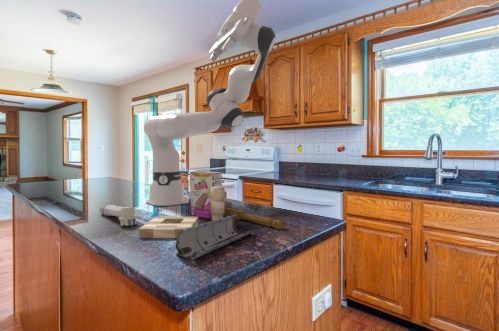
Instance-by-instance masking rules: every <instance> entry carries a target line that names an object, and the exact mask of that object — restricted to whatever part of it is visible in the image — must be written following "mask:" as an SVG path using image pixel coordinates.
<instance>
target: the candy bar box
mask: <svg viewBox="0 0 499 331" xmlns="http://www.w3.org/2000/svg"><path fill="white" fill-rule="evenodd" d="M222 179H223V178H222V172H218V171H217V172H216V171H206V170H194V171H190V172H189V185H190V187H189V188H190V190H189V191H190V197H189V200H190V217H198V219H199V218H201V219H206V220H211V221H212V214H211V187H217V186H220V187H223V184H222V183H223V182H222V181H223V180H222Z"/></svg>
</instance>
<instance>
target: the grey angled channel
mask: <svg viewBox="0 0 499 331" xmlns="http://www.w3.org/2000/svg"><path fill="white" fill-rule="evenodd" d="M238 215H239V214H235V215H231V216H227V217H226V216H224V217H223V218H222V219H217V220H214V221H212V220H211V221H208V222H203V223H199V224H198V225H196V226H194V227H188V228H185V229H182V230H181V231H180V232H179V234H178V235H177V237H176V238H175V239H176V240H175V241H176V242H175V248H176V251H177V253H176V256H177V257H182V258H183V259H186V260H191V261H193V260H196V259H198V258H200V257H202V256H204V255H207V254H209V253H211V252H213V251H215V250H217V249H219V248H222V247H225V246H226V245H230V243H232V242H235V241H238V240H240V239H243V238H244V237H247V236H249V235H251V233H252V232H253V231H254V229H250V230H249V231H246V232H245V233H240V232H239V231H238V229H237V228H236V219H235V218H236V217H237V216H238ZM194 254H195V255H194ZM193 256H194V257H193Z"/></svg>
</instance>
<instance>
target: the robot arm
mask: <svg viewBox="0 0 499 331" xmlns="http://www.w3.org/2000/svg"><path fill="white" fill-rule="evenodd" d="M261 7H262V5H261V2H260V0H239V1H238V3H237V4H236V5H235V6H234V8H233V9H232V12H231V13H230V14H229V15H228V17H227V18H226V20H225V21H224V22H223V24H222V26H221V29H220V30H219V31H218V33H217V35H216V38H215V40H214V41H213V44H212V45H211V48H210V49H209V55H210V58H209V61H211V63H214V62H215V61H216V60H217V59H218V58H219V57H221V56H222V55H223V54H224V53H226V52H228V51H229V49H230V48H231V47H233V45H238V46H241V47H243V48H246V49H249V50H253V51H254V52H256V53H257V56H256V59H255V63H254V64H253V63H252V64H239V65H235V66H234V67H233V68H231V70H230V71H229V73H228V76H227V77H228V79H227V88H225V87H220V88H216V89H213V90H211V91H210V92H209V93H208V95H207V97H206V104H207V106H208V107H209V108H210V109H211V110H210V111H195V112H181V113H168V114H161V115H153V116H152V117H150V118H148V119H146V121H145V122H144V124H143V132H144V134H145V135H146V136H147V138H148V140H149V143H150V146H151V147H150V148H151V149H152V155H153V156H152V158H153V172H152V180H153V181H152V182H151V183H150V184H149V197H148V200H146V201H145V202H146V204H150V205H153V206H158V207H159V206H162V207H163V206H164V207H167V206H169V207H170V206H178V205H184V204H189V202H190V197H189V195H186V194H187V193H186V192H185V186H184V183H183V182H182V180H181V179H182V172H181V171H180V170H181V169H180V168H181V166H180V153H179V151H178V150H177V149H176V147H175V145H174V141H178V140H183V139H186V138H189V137H190V138H191V137H196V136H203V135H208V134H211V133H213V132H215V131H218V129H220V126H221V127H222V128H225V129H226V128H229V129H230V128H235V127H237V126H239V125H241V123H242V122H243V121H244V119H245V118H244V117H245V115H244V112H243V110H242V108H241V107H239V105H238V104H242V103H245V102H246V101H247V100H248V98H249V95H250V91H251V89H252V88H251V87H252V83H254V82H257V81H258V79H260V76H261V75H262V72H263V71H264V68H265V65H266V63H267V61H268V58H269V55H270V53H271V51H272V49H273V47H274V45H275V43H276V34H275V32H274V30H273V28H272V27H270V26H269V27H268V26H264V25H261V24H258V23H255V21H256V20H257V18H258V16H259V13H260V10H261Z"/></svg>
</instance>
